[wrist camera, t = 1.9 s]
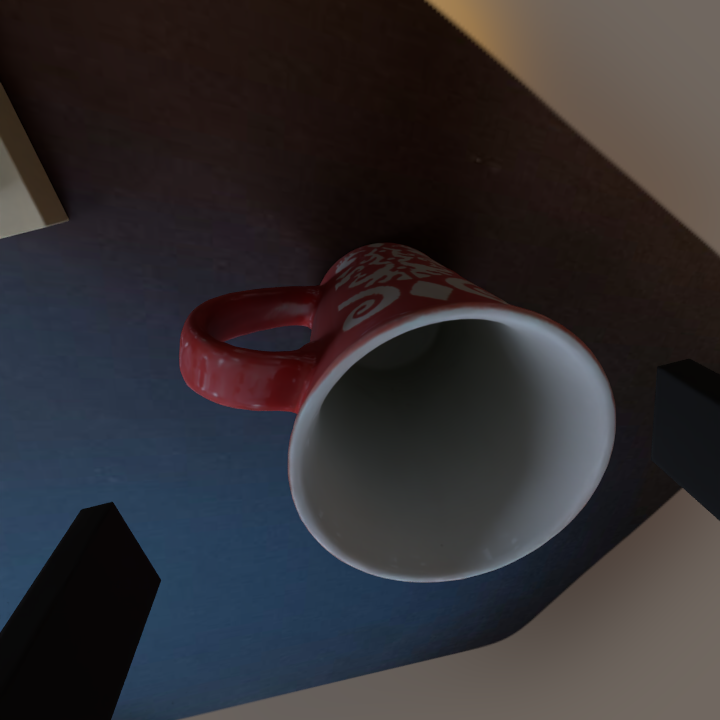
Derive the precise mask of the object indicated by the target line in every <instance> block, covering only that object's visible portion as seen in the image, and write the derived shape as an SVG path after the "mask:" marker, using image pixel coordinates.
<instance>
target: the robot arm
mask: <svg viewBox="0 0 720 720" xmlns="http://www.w3.org/2000/svg"><path fill="white" fill-rule="evenodd" d="M651 460H652V461H653V462H654V463H656V464H657V465H658V466H659V467H660V468H661V469H662V470H663V471H664V472H666V473H667V474H668V475H669V476H670V477H671V478H672V479H673V480H675V481H676V482H677V483H678V484H679V485H680V486H681V487H682V488H684V489H685V490H686V491H687V492H688V493H689V494H690V495H691V496H693V497H694V498H695V499H696V500H697V501H698V502H699V503H700V504H702V505H703V506H704V507H705V508H706V509H707V510H708V511H709V512H710V513H712V514H713V515H714V516H715V517H716V518H717V519H718V520H720V375H719V374H717V373H715V372H714V371H712V370H710V369H708V368H706V367H704V366H702V365H701V364H699V363H697V362H695V361H693V360H691V359H686V360H682V361H678V362H674V363H670V364H666V365H662V366H658V367H657V380H656V394H655V409H654V423H653V437H652V452H651ZM160 582H161V579H160V578H159V576H158V574H157V573H156V571H155V569H154V568H153V566H152V565H151V563H150V561H149V560H148V558H147V556H146V555H145V553H144V552H143V550H142V548H141V547H140V545H139V543H138V542H137V540H136V539H135V537H134V535H133V534H132V532H131V531H130V529H129V527H128V526H127V524H126V522H125V521H124V519H123V518H122V516H121V514H120V513H119V511H118V509H117V508H116V506H115V505H114V503H113V502H110V503H106V504H102V505H98V506H94V507H90V508H86V509H82V510H81V511H80V512H79V514H78V515H77V517H76V518H75V520H74V522H73V523H72V525H71V526H70V528H69V529H68V531H67V532H66V534H65V535H64V537H63V538H62V540H61V541H60V543H59V544H58V546H57V547H56V549H55V550H54V552H53V553H52V555H51V556H50V558H49V559H48V561H47V562H46V564H45V566H44V567H43V569H42V570H41V572H40V573H39V575H38V576H37V578H36V579H35V581H34V582H33V584H32V585H31V587H30V588H29V590H28V591H27V593H26V594H25V596H24V597H23V599H22V600H21V602H20V603H19V605H18V607H17V608H16V610H15V611H14V613H13V614H12V616H11V617H10V619H9V620H8V622H7V623H6V625H5V626H4V628H3V629H2V631H1V632H0V720H111V718H112V715H113V713H114V710H115V707H116V704H117V701H118V699H119V696H120V693H121V690H122V688H123V685H124V682H125V679H126V676H127V674H128V671H129V668H130V665H131V663H132V660H133V657H134V654H135V651H136V649H137V646H138V643H139V640H140V637H141V635H142V632H143V629H144V626H145V624H146V621H147V618H148V615H149V612H150V610H151V607H152V604H153V601H154V599H155V596H156V593H157V590H158V587H159V585H160Z"/></svg>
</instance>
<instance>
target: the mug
mask: <svg viewBox="0 0 720 720" xmlns="http://www.w3.org/2000/svg"><path fill="white" fill-rule="evenodd" d="M289 325H302V326H307V327H309V328H310V329H311V330H312V332H311V340H310V343H307V344H306V345H304V346H303V347H301V348H300V349H298V350H294V351H281V352H269V351H258V350H250V349H246V348H240V347H235V346H232V345H230V344H227V343H224V341H226V340H229V339H232V338H235V337H238V336H241V335H246V334H249V333H253V332H257V331H262V330H266V329H271V328H275V327H281V326H289ZM179 364H180V370H181V373H182V376H183V378H184V380H185V382H186V384H187V385H188V386H189V387H190V388H191V389H193V390H194V391H195V392H196V393H198V394H200V395H201V396H203V397H205V398H206V399H209V400H211V401H213V402H215V403H218V404H221V405H224V406H228V407H233V408H239V409H247V410H256V411H276V410H278V411H290V412H294V413H296V414H297V417H296V419H295V422H294V427H293V430H292V433H291V436H290V443H289V450H288V479H289V485H290V490H291V494H292V497H293V501H294V504H295V507H296V509H297V511H298V513H299V516H300V518H301V520H302V521H303V523H304V524H305V526H306V528H307V529H308V530H309V532H310V533H311V534H312V535H313V537H314V538H315V539H316V540H317V541H318V542H319V543H320V544H321V545H322V546H323V547H324V548H325V549H326V550H328V551H329V552H330V553H331V554H332V555H334V556H335V557H336V558H338V559H340V560H341V561H343V562H345V563H347V564H348V565H350V566H352V567H354V568H356V569H359V570H361V571H364V572H366V573H369V574H372V575H375V576H379V577H382V578H387V579H392V580H398V581H406V582H442V581H451V580H459V579H464V578H468V577H472V576H476V575H480V574H483V573H486V572H490V571H493V570H496V569H498V568H501V567H503V566H506V565H508V564H510V563H512V562H514V561H516V560H518V559H520V558H522V557H524V556H525V555H527V554H529V553H530V552H532V551H534V550H535V549H537V548H539V547H540V546H542V545H543V544H544V543H546V542H547V541H548V540H550V539H551V538H552V537H554V536H555V535H556V534H557V533H559V532H560V531H561V530H562V529H563V528H565V527H566V526H567V525H568V524H569V523H570V522H571V521H572V520H573V519H574V518H575V517H576V515H577V514H578V513H579V512H580V511H581V510H582V509H583V507H584V506H585V505H586V503H587V502H588V500H589V499H590V497H591V496H592V494H593V493H594V491H595V490H596V488H597V486H598V484H599V482H600V480H601V478H602V476H603V474H604V472H605V470H606V468H607V466H608V463H609V460H610V456H611V453H612V450H613V444H614V439H615V430H616V409H615V401H614V397H613V392H612V389H611V387H610V384H609V381H608V378H607V376H606V374H605V372H604V370H603V368H602V366H601V364H600V363H599V362H598V360H597V359H596V357H595V356H594V354H593V353H592V352H591V350H590V349H589V348H588V347H587V346H586V345H585V344H584V343H583V342H582V340H581V339H579V338H578V337H577V336H576V335H574V334H573V333H572V332H571V331H569V330H568V329H567V328H565V327H564V326H562V325H561V324H559V323H557V322H555V321H553V320H551V319H550V318H548V317H546V316H544V315H541V314H539V313H536V312H534V311H531V310H527V309H524V308H520V307H517V306H513V305H509V304H508V303H506V302H504V301H503V300H501V299H500V298H498V297H496V296H495V295H493V294H491V293H489V292H488V291H486V290H484V289H482V288H480V287H478V286H476V285H475V284H473V283H471V282H470V281H468V280H466V279H464V278H462V277H461V276H460V275H458V274H457V273H456V272H454V271H452V270H450V269H448V268H446V267H444V266H443V265H441V264H439V263H437V262H436V261H434V260H433V259H431V258H430V257H428V256H427V255H425V254H424V253H422V252H420V251H418V250H416V249H414V248H411V247H408V246H405V245H401V244H396V243H376V244H370V245H366V246H363V247H360V248H357V249H355V250H353V251H351V252H349V253H348V254H346V255H345V256H343V257H342V258H341V259H339V260H338V261H337V262H336V263H335V264H334V265H333V266H332V267H331V268H330V269H329V271H328V272H327V274H326V275H325V276H324V278H323V280H322V282H321V284H320V285H317V286H305V287H303V286H290V287H275V288H263V289H254V290H247V291H241V292H234V293H229V294H226V295H222V296H219V297H216V298H213V299H210V300H208V301H206V302H204V303H202V304H201V305H199V306H198V307H196V308H195V309H194V310H193V311H192V312H191V313H190V315H189V316H188V318H187V319H186V321H185V324H184V326H183V329H182V332H181V338H180V353H179Z"/></svg>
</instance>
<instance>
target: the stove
mask: <svg viewBox="0 0 720 720" xmlns="http://www.w3.org/2000/svg"><path fill="white" fill-rule="evenodd" d="M68 220H69V219H68V217H67V215H66V213H65V211H64V209H63V206H62V204H61V202H60V200H59V198H58V196H57V194H56V192H55V190H54V188H53V186H52V184H51V182H50V180H49V178H48V176H47V174H46V172H45V170H44V168H43V166H42V164H41V162H40V160H39V158H38V156H37V154H36V152H35V150H34V148H33V146H32V144H31V142H30V140H29V138H28V136H27V134H26V132H25V130H24V128H23V126H22V124H21V122H20V120H19V118H18V116H17V114H16V112H15V110H14V108H13V106H12V104H11V102H10V100H9V98H8V96H7V94H6V92H5V90H4V88H3V86H2V84H1V82H0V239H1V238H5V237H9V236H13V235H17V234H21V233H25V232H29V231H33V230H37V229H41V228H45V227H48V226H52V225H56V224H59V223H63V222H67V221H68Z"/></svg>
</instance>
